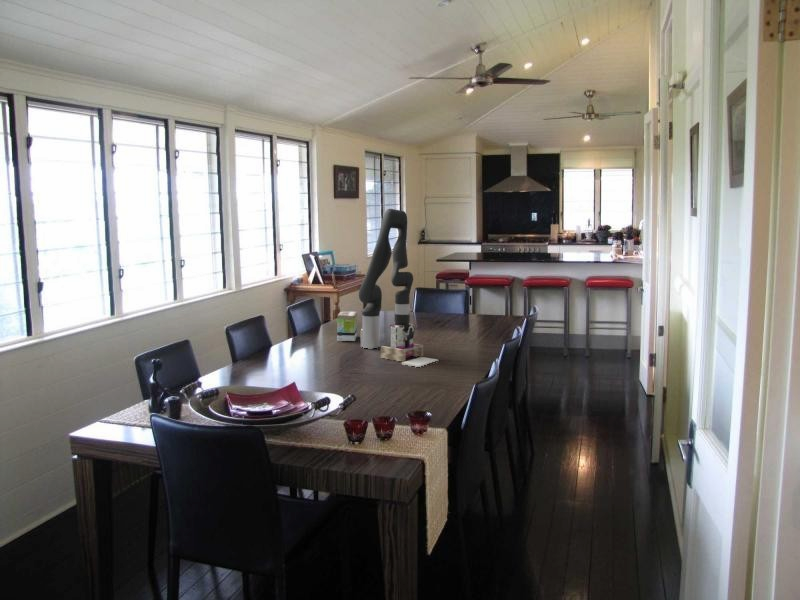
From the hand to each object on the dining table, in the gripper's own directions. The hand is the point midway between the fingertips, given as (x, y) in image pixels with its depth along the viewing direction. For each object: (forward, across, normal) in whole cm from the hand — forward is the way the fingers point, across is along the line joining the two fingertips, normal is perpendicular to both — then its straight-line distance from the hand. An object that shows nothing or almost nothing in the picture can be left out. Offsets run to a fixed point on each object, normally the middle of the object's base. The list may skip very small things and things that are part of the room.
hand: (402, 346), depth 334 cm
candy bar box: (+6, 0, 0) cm, 6 cm away
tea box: (+6, -52, +17) cm, 55 cm away
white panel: (+5, +14, -4) cm, 16 cm away
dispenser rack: (+5, 0, 0) cm, 5 cm away
